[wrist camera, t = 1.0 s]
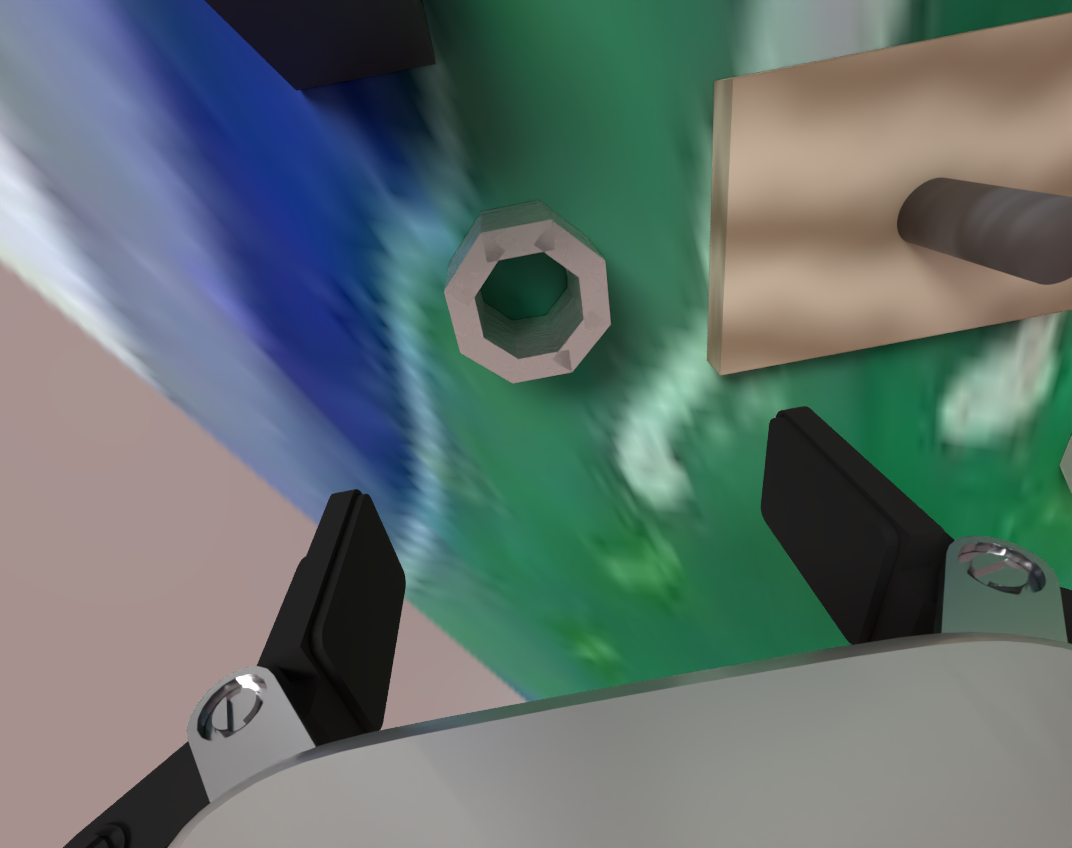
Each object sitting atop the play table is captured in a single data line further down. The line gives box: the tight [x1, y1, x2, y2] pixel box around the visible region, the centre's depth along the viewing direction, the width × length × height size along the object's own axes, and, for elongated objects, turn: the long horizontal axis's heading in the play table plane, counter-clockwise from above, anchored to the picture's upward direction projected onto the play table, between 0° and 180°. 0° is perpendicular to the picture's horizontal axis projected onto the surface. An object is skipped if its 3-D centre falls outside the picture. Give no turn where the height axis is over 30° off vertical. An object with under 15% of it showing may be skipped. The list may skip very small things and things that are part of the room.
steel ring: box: [444, 200, 611, 383], centre depth 24 cm, size 7×7×5 cm
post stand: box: [707, 12, 1072, 375], centre depth 22 cm, size 14×20×9 cm
